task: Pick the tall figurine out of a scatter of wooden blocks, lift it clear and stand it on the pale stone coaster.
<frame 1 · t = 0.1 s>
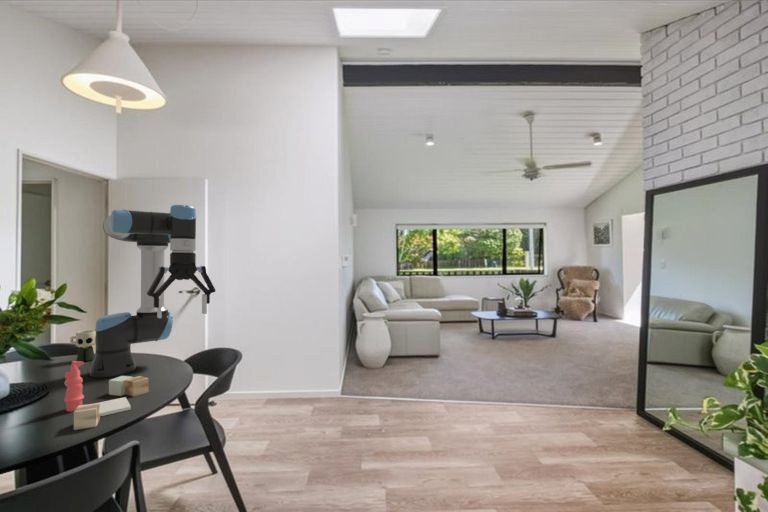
hand: (182, 315, 126), 28 cm above the table, fingers open, 13 cm apart
figurine: (74, 409, 118), on the table
character mug: (85, 360, 170), on the table
sage block: (121, 392, 132), on the table
coaster: (109, 408, 118), on the table
oak block: (137, 393, 132), on the table
maple block: (87, 424, 108), on the table
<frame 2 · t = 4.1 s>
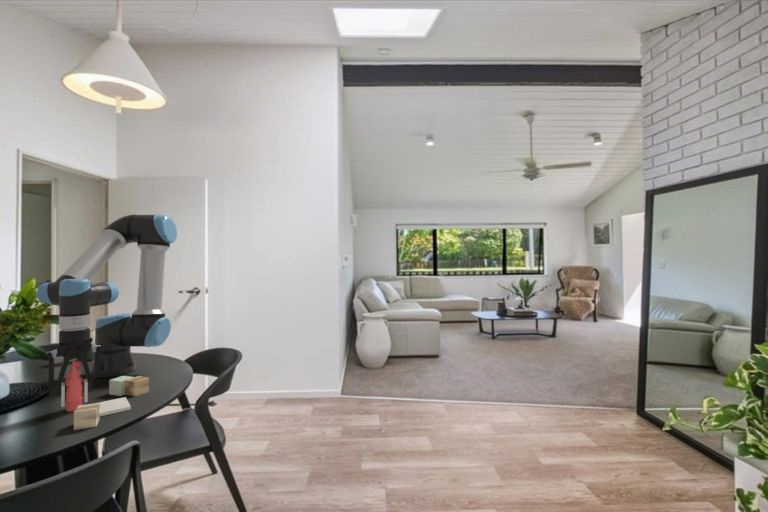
hand: (74, 403, 118), 2 cm above the table, fingers closed on figurine, 5 cm apart
figurine: (74, 409, 118), on the table, touching gripper
everything else where it was.
when the fingers open (4 cm above the table, at t = 9.2 s): figurine stays where it is, resting on coaster.
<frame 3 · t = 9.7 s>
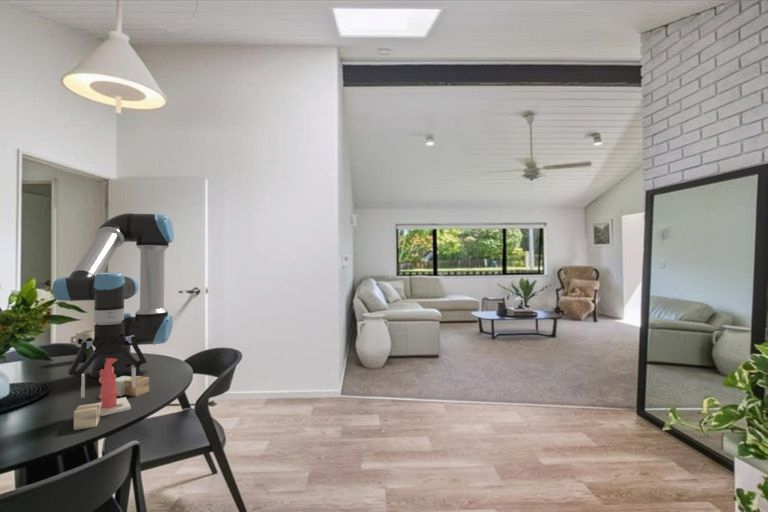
hand: (109, 391, 118), 5 cm above the table, fingers open, 12 cm apart
figurine: (109, 406, 118), point 1 cm above the table, touching coaster
everything else where it was.
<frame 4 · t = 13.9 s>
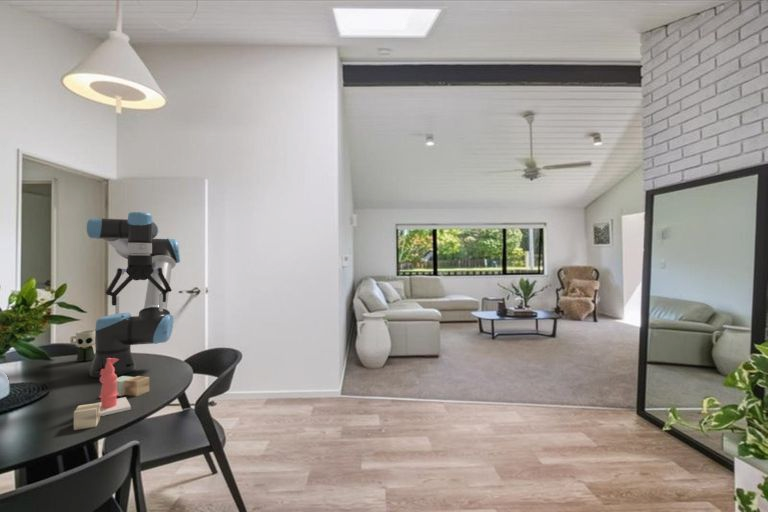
hand: (139, 312, 139), 27 cm above the table, fingers open, 13 cm apart
nothing on the table moved.
at the end: figurine inside the target area on the coaster (0.0 cm from its centre), point 0.8 cm above the coaster's base; figurine tilted 0°; the gripper is holding nothing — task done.
